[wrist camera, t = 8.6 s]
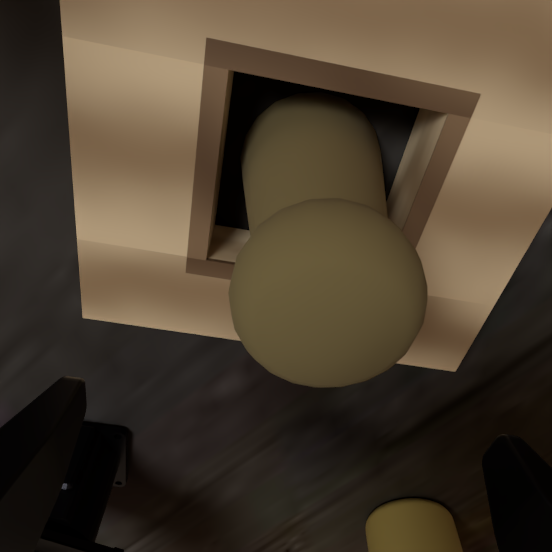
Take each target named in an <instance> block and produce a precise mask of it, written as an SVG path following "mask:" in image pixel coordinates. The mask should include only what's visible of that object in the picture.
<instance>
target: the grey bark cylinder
mask: <svg viewBox="0 0 552 552" xmlns="http://www.w3.org/2000/svg"><path fill="white" fill-rule="evenodd" d="M366 537H367V544H368V551H369V552H463V550H462V547H461V543H460V540H459V537H458V533H457V530H456V526H455V523H454V520H453V517H452V515H451V514H450V512H449V511H448V510H447V509H446V508H445V507H443V506H442V505H440V504H439V503H436V502H434V501H431V500H427V499H421V498H405V499H398V500H394V501H390V502H388V503H385V504H383V505H381V506H380V507H378V508H376V509H375V510H374V511H373V512H372V513H371V514H370V515H369V517H368V519H367V522H366Z"/></svg>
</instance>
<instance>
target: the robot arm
mask: <svg viewBox="0 0 552 552" xmlns="http://www.w3.org/2000/svg"><path fill="white" fill-rule="evenodd" d="M86 406H87V403H86V388H85V381H84V380H83V379H82V378H76V377H69V376H65V377H62V378H60V379H59V380H58V381H56V382H55V383H54V384H53V385H52V386H50V387H49V388H48V389H47V390H46V391H44V392H43V393H42V394H41V395H39V396H38V397H37V398H36V399H35V400H33V401H32V402H31V403H30V404H29V405H27V406H26V407H25V408H24V409H23V410H21V411H20V412H19V413H18V414H16V415H15V416H14V417H13V418H12V419H10V420H9V421H8V422H7V423H6V424H4V425H3V426H2V427H1V428H0V552H124V550H123V549H120V548H117V547H115V548H111V547H108V546H104V545H101V544H98V543H95V540H96V537H97V534H98V530H99V527H100V524H101V521H102V518H103V515H104V511H105V508H106V505H107V502H108V499H109V496H110V493H111V489H112V486H114V487H124V486H125V485H126V481H127V431H126V430H125V429H124V428H122V427H116V426H108V425H100V424H91V423H83V420H84V417H85V413H86ZM482 467H483V472H484V478H485V484H486V489H487V495H488V501H489V506H490V512H491V518H492V523H493V528H494V533H495V537H496V541H497V545H498V549H499V552H552V468H551V467H550V466H549V465H548V464H547V463H546V462H545V461H544V460H543V459H542V458H541V457H540V456H539V455H538V454H537V453H536V452H535V451H534V450H533V449H532V448H531V447H530V446H529V445H528V444H527V443H526V442H525V441H524V440H523V439H521V438H520V437H518V436H514V435H506V434H501V435H499V436H497V437H496V439H495V440H494V442H493V443H492V444H491V446H490V447H489V448H488V450H487V451H486V452H485V454H484V456H483V460H482Z"/></svg>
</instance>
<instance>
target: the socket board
mask: <svg viewBox="0 0 552 552" xmlns="http://www.w3.org/2000/svg"><path fill="white" fill-rule="evenodd" d="M60 10H61V24H62V38H63V52H64V66H65V80H66V93H67V107H68V121H69V135H70V149H71V162H72V176H73V190H74V204H75V218H76V232H77V245H78V259H79V273H80V287H81V301H82V314H83V318H87V319H94V320H101V321H108V322H115V323H122V324H129V325H136V326H143V327H150V328H157V329H163V330H170V331H177V332H184V333H191V334H198V335H205V336H212V337H219V338H226V339H233V340H240V338H239V336H238V335H237V333H236V331H235V329H234V325H233V320H232V316H231V309H230V302H229V295H228V292H229V287H230V281H231V277H232V273H233V269H234V265H235V262H236V258H237V255H238V254H239V252H240V251H241V249H242V248H243V246H244V245H245V244H246V242H247V241H248V239H249V238H250V231H249V230H244V229H238V228H232V227H226V226H220V225H215V220H216V212H217V204H218V196H219V188H220V180H221V172H222V164H223V156H224V148H225V140H226V132H227V124H228V116H229V108H230V100H231V92H232V84H233V76H234V71H237V72H242V73H247V74H252V75H257V76H262V77H267V78H272V79H277V80H282V81H287V82H292V83H297V84H302V85H307V86H312V87H317V88H322V89H327V90H332V91H337V92H342V93H347V94H352V95H357V96H362V97H367V98H372V99H377V100H382V101H387V102H392V103H397V104H402V105H407V106H412V107H417V108H420V109H419V112H418V115H417V118H416V121H415V123H414V126H413V129H412V132H411V135H410V137H409V140H408V143H407V146H406V149H405V151H404V154H403V157H402V160H401V163H400V165H399V168H398V171H397V174H396V177H395V180H394V182H393V185H392V188H391V191H390V194H389V196H388V199H387V202H386V205H387V215H388V219H390V220H391V221H392V222H394V223H395V224H396V225H397V226H398V227H399V228H400V229H401V230H402V232H403V233H404V234H405V236H406V237H407V238H408V240H409V241H410V242H411V244H412V245H413V246H414V248H415V249H416V251H417V253H418V255H419V257H420V260H421V262H422V266H423V270H424V274H425V278H426V282H427V293H428V300H427V306H426V312H425V318H424V324H423V326H422V327H421V329H420V331H419V333H418V335H417V336H416V338H415V340H414V341H413V343H412V345H411V346H410V348H409V350H408V351H407V353H406V355H404V356H403V357H402V358H401V359H400V360H399V361H398V362H397V363H398V364H405V365H412V366H419V367H426V368H433V369H440V370H447V371H454V372H456V370H457V368H458V366H459V365H460V363H461V361H462V360H463V358H464V356H465V354H466V353H467V351H468V349H469V348H470V346H471V344H472V343H473V341H474V339H475V337H476V336H477V334H478V332H479V331H480V329H481V327H482V326H483V324H484V322H485V320H486V319H487V317H488V315H489V314H490V312H491V310H492V308H493V307H494V305H495V303H496V302H497V300H498V298H499V297H500V295H501V293H502V291H503V290H504V288H505V286H506V285H507V283H508V281H509V280H510V278H511V276H512V274H513V273H514V271H515V269H516V268H517V266H518V264H519V262H520V261H521V259H522V257H523V256H524V254H525V252H526V251H527V249H528V247H529V245H530V244H531V242H532V240H533V239H534V237H535V235H536V234H537V232H538V230H539V228H540V227H541V225H542V223H543V222H544V220H545V218H546V216H547V215H548V213H549V211H550V210H551V208H552V0H60ZM240 341H241V340H240Z"/></svg>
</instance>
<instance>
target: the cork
mask: <svg viewBox="0 0 552 552" xmlns="http://www.w3.org/2000/svg"><path fill="white" fill-rule="evenodd" d="M240 160H241V170H242V179H243V187H244V194H245V201H246V209H247V216H248V223H249V231H250V238H249V239H248V241H247V242H246V244H245V245H244V246H243V248H242V249H241V251H240V252H239V254H238V255H237V258H236V262H235V265H234V269H233V273H232V277H231V281H230V287H229V292H228V295H229V302H230V309H231V316H232V320H233V325H234V329H235V331H236V333H237V335H238V336H239V338H240V340H241V342H242V343H243V345H244V347H245V348H246V350H247V351H248V352H249V353H250V355H251V356H252V357H253V358H254V359H255V360H256V361H257V362H259V363H260V364H261V365H262V366H263V367H264V368H266V369H267V370H268V371H269V372H270V373H272V374H274V375H276V376H278V377H280V378H283V379H285V380H287V381H289V382H291V383H295V384H300V385H305V386H311V387H316V388H320V387H343V386H347V385H352V384H356V383H360V382H364V381H367V380H369V379H371V378H373V377H375V376H377V375H379V374H381V373H383V372H385V371H387V370H389V369H390V368H391V367H392V366H393V365H394V364H395V363H397V362H398V361H399V360H400V359H401V358H402V357H403V356H404V355H406V353H407V351H408V350H409V348H410V346H411V345H412V343H413V341H414V340H415V338H416V336H417V335H418V333H419V331H420V329H421V327H422V326H423V324H424V318H425V312H426V306H427V300H428V293H427V282H426V278H425V274H424V270H423V266H422V262H421V260H420V257H419V255H418V253H417V251H416V249H415V248H414V246H413V245H412V244H411V242H410V241H409V240H408V238H407V237H406V236H405V234H404V233H403V232H402V230H401V229H400V228H399V227H398V226H397V225H396V224H395V223H394V222H392V221H391V220H390V219H388V215H387V205H386V196H385V187H384V177H383V168H382V158H381V150H380V146H379V143H378V139H377V135H376V131H375V129H374V128H373V126H372V125H371V123H370V122H369V120H368V119H367V117H366V116H365V114H364V113H363V112H362V111H361V110H359V109H358V108H357V107H355V106H354V105H352V104H351V103H350V102H348V101H347V100H345V99H344V98H341V97H337V96H334V95H330V94H327V93H323V92H311V93H297V94H294V95H292V96H289V97H286V98H284V99H281V100H279V101H276V102H274V103H273V104H272V105H271V106H270V107H268V108H267V109H266V110H265V111H264V112H262V113H261V114H260V115H259V116H258V117H257V118H256V119H255V121H254V123H253V124H252V126H251V128H250V129H249V131H248V132H247V134H246V136H245V139H244V143H243V148H242V152H241V156H240Z"/></svg>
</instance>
